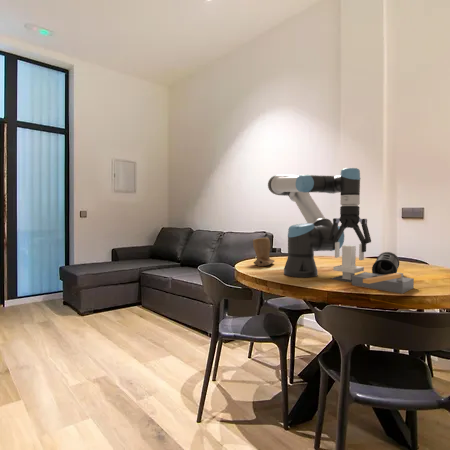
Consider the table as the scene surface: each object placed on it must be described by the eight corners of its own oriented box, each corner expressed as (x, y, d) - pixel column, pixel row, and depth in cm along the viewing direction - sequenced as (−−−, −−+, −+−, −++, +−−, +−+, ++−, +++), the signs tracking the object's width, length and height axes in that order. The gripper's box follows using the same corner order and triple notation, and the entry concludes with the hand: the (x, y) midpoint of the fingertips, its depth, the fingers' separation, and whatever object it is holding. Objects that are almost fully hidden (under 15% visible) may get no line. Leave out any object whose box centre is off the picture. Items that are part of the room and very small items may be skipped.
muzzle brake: (370, 282, 130) (371, 257, 130) (376, 272, 155) (377, 250, 154) (397, 285, 126) (397, 259, 125) (399, 273, 150) (399, 252, 149)
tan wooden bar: (397, 275, 115) (397, 272, 115) (404, 276, 113) (404, 273, 113) (362, 282, 104) (362, 278, 104) (369, 283, 102) (369, 280, 102)
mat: (330, 280, 135) (330, 278, 135) (342, 276, 143) (342, 275, 143) (355, 284, 127) (355, 282, 127) (367, 280, 135) (367, 278, 135)
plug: (333, 278, 135) (333, 245, 134) (343, 275, 141) (343, 244, 141) (354, 281, 128) (354, 247, 128) (363, 278, 135) (364, 245, 134)
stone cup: (256, 262, 184) (256, 236, 184) (276, 263, 180) (276, 236, 179) (247, 266, 170) (248, 238, 170) (269, 267, 166) (269, 238, 165)
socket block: (351, 286, 124) (352, 272, 123) (364, 281, 132) (365, 268, 132) (402, 294, 111) (402, 279, 110) (413, 289, 119) (413, 274, 119)
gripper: (320, 205, 139) (320, 256, 140) (373, 205, 123) (372, 262, 124) (329, 206, 144) (328, 255, 145) (381, 205, 128) (380, 260, 129)
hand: (348, 258), depth 134 cm, fingers open, 10 cm apart
